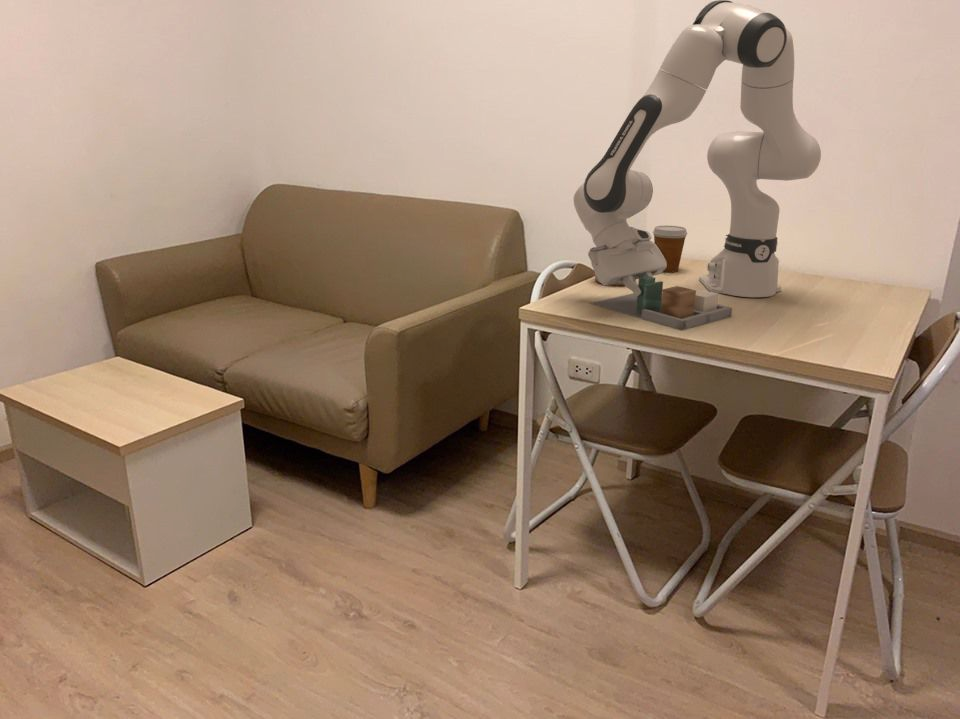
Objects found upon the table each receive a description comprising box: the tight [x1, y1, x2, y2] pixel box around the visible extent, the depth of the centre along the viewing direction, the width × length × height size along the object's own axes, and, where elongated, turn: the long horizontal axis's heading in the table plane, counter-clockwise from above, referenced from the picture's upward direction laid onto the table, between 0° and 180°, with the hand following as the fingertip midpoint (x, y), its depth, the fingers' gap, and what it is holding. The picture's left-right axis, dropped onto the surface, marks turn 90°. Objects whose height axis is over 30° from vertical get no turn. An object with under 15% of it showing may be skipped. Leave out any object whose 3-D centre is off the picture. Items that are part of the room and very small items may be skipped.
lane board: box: [588, 293, 733, 331], centre depth 176 cm, size 27×18×2 cm, turn 38°
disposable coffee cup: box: [652, 225, 688, 273], centre depth 216 cm, size 10×10×12 cm
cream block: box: [694, 289, 719, 312], centre depth 172 cm, size 5×5×5 cm
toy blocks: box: [636, 276, 697, 319], centre depth 170 cm, size 13×6×8 cm, turn 38°
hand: (646, 293), depth 173 cm, fingers closed on toy blocks, 3 cm apart
